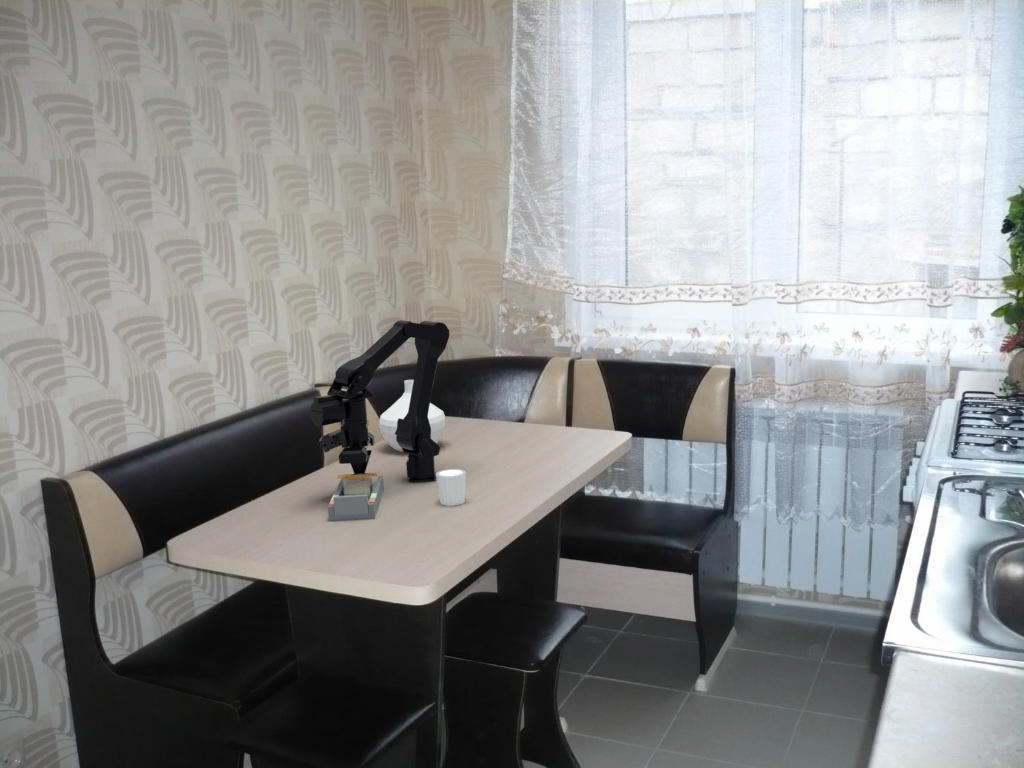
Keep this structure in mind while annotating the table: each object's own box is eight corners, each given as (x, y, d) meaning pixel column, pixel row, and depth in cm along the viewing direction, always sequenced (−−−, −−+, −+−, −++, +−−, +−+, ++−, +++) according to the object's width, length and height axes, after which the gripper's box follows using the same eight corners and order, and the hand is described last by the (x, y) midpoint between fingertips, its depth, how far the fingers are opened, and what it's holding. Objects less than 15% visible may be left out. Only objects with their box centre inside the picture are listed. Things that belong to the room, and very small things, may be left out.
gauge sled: (379, 490, 249) (377, 470, 248) (377, 496, 245) (375, 476, 244) (340, 492, 249) (338, 472, 248) (337, 499, 244) (335, 478, 243)
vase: (460, 443, 296) (456, 376, 292) (420, 459, 281) (415, 389, 277) (408, 437, 306) (403, 372, 302) (367, 453, 291) (362, 384, 287)
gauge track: (384, 488, 256) (382, 467, 255) (374, 518, 233) (372, 495, 232) (342, 490, 256) (340, 470, 255) (329, 520, 233) (327, 498, 232)
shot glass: (472, 498, 245) (470, 469, 243) (461, 507, 238) (459, 477, 237) (444, 496, 247) (442, 467, 246) (433, 505, 241) (431, 476, 239)
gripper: (326, 411, 257) (331, 473, 260) (313, 429, 238) (319, 496, 241) (372, 409, 257) (376, 471, 260) (363, 427, 239) (368, 493, 242)
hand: (359, 482), depth 251 cm, fingers closed
